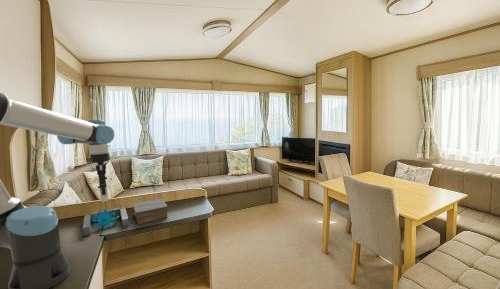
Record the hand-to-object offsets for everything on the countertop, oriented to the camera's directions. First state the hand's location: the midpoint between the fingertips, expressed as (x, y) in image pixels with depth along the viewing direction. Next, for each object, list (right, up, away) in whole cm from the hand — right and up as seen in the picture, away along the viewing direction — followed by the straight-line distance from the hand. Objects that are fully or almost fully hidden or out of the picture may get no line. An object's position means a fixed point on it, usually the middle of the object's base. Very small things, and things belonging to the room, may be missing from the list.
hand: (104, 197), depth 115 cm
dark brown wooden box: (+17, -13, +13) cm, 25 cm away
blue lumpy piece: (0, -15, +2) cm, 15 cm away
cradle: (-1, -14, +4) cm, 15 cm away
